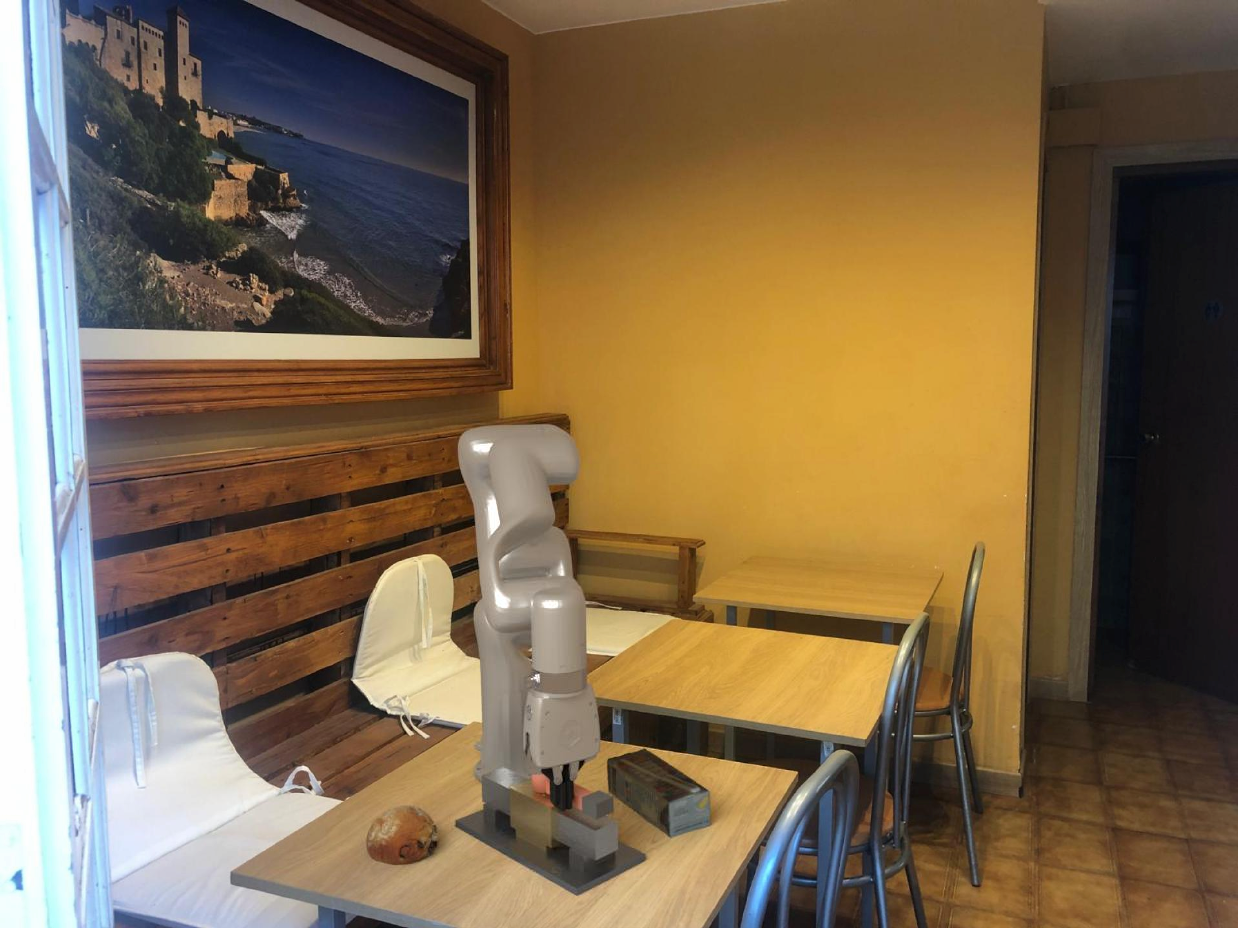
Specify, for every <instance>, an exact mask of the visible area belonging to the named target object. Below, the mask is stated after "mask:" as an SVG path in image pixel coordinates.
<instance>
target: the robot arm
mask: <svg viewBox="0 0 1238 928" xmlns="http://www.w3.org/2000/svg"><path fill="white" fill-rule="evenodd" d="M457 442H458V444H457V456H458V463H459V465H458V466H459V468H460V472H461V475H462V478H463V481H464V484H465V485H466V488H467V491H468V493H469V495H470V498H471V501H472V504H473V510H474V512H473V513H474V523H475V524H474V525H475V536H476V537H475V538H476V550H477V561H478V563H477V564H478V569H479V570H478V571H479V572H478V573H479V574H478V575H479V584H480V589H481V591H480V592H481V596H482V598H481V599H479V600H478V601H477V603H476V605H475V606H474V609H473V626H474V631H475V636H476V641H477V648H478V655H479V656H478V657H479V667H480V695H481V697H480V698H481V700H480V701H481V727H482V728H481V729H482V733H481V737H480V741H476V742H475V743H474V746H473V749H475V750H477V751H479V752H480V759H479V760H478V761H477V762H476V764H475V765H474V768H473V769H474V773H473V774H474V776H475V778H476V779H477V780H479V781H480V782H482V776H481V775H484V774H487V773H489V772H492V771H495V770H497V769H500V768H506V769H508V770H510V771H512V772H514V773H516V774H518V775H521V776H523V777H525V778H527V779H529V780H531V779H532V775H540V774H544V775H545V776H546V777H547V778H549V780H550V801H551V803H552V804H553V805H554V806H555V807H556V808H558V809H559V810H560V811H561V812H562V811H565V810H566V809H568V810H570V809H572V800H573V799H574V783H575V781H576V780H577V778H578V774H579V772H580V771H581V769H582V768H583V766H584V765H585V764H587V763H589V762H591V761H593V760H596V758H597V756H598V754H599V752H600V751H601V730H600V729H601V728H600V717H599V710H598V705H597V698H596V694H595V691H594V686H593V685H592V684H591V683H588V669H587V668H588V667H587V666H588V660H587V658H588V655H587V653H588V652H587V604H586V603H587V602H586V601H587V600H586V597H585V595H584V591H583V588H582V586H581V585H580V584H579V583H578V582H577V580H576V578H574V573H573V563H572V554H571V552H572V551H571V547H570V543H569V540H568V538H567V536H566V533H565V532H564V531H563V529H561V528H559V527H557V526H553V525H554V523H555V521H556V512H555V508H554V504H553V499H552V496H551V491H550V487H549V486H562V485H571V484H573V483H575V482H576V480H577V479H578V478H579V475H580V473H581V471H580V470H581V457H580V456H581V455H580V452H579V448H578V446H577V444H576V442H575V439H574V438H573V437H572V436H571V435H570V434H569V433H568V432H567V431H565V430H564V429H562V428H561V427H558V426H556V425H554V424H549V423H546V424H545V423H542V424H541V423H539V424H534V423H533V424H499V425H495V424H494V425H484V426H479V427H478V426H477V427H473V428H470V429H467V430H465V431H464V432H463V433H461V435H460V437H459V440H458V441H457ZM529 647H531V660H530V659H529V658H528V657H527V656H526V655H525V654H524V653H522V651H521V649H523V648H529Z"/></svg>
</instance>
